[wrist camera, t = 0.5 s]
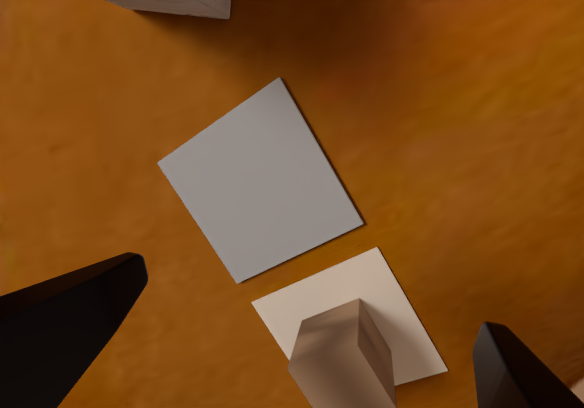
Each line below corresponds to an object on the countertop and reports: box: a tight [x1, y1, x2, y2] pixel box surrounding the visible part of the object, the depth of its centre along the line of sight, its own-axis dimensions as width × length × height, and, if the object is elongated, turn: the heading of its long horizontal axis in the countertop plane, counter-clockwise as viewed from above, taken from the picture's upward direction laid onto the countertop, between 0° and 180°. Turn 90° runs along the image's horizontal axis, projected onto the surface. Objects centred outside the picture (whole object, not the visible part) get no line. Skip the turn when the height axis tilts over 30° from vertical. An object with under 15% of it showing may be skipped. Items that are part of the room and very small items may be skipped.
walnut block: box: [287, 298, 397, 408], centre depth 23 cm, size 5×5×5 cm
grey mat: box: [158, 77, 363, 284], centre depth 23 cm, size 11×11×1 cm
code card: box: [251, 247, 448, 386], centre depth 25 cm, size 11×11×1 cm
